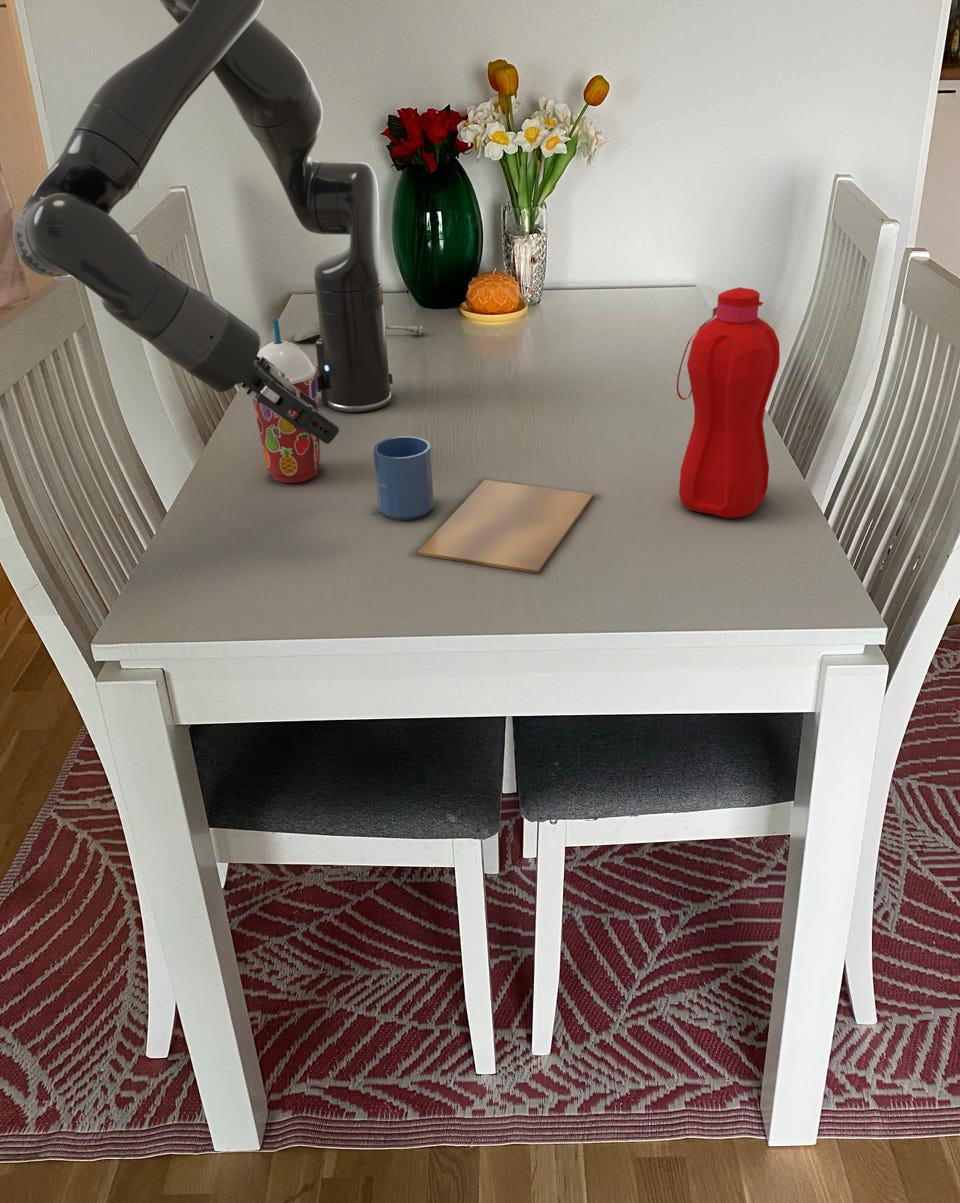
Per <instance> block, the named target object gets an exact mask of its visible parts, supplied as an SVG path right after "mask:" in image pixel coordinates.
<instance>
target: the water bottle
mask: <svg viewBox="0 0 960 1203" xmlns="http://www.w3.org/2000/svg"><path fill="white" fill-rule="evenodd" d="M760 296H761V295H760V292H759V291H758V290H756V289H753V288H746V287H740V286H739V287H735V288H732V289H728V290H724V291H722V292H720V293H719V294H718V295H717V305H716V306H715V307H714V308H712V314H711V318H709V319H708V320H706V321H704V323H703V324H702V325H701V326H699V328H698V330H697V331H696V332H695V333H694V334H693V335H692V336H691V337H690V339H689V340H688V341H687V343H686V346H685V349H684V352H683V354H682V358H681V361H680V365H679V367H678V368H679V369H678V372H677V379H676V393H677V396H678V398H679V399H680V400H682V401H686V400H688V399H689V398H690V397H691V396H692V401H693V405H694V409H693V410H694V411H693V412H694V413H693V426H692V429H691V433H690V436H689V439H688V443H687V446H686V449H685V453H684V456H683V460H682V463H681V467H680V472H679V473H680V474H679V485H678V494H679V498H680V499H679V500H680V502H681V503H682V504H683V506H684V507H686V508H687V509H688V510H689V511H692V512H696V513H697V512H698V513H703V514H707V515H712V516H716V517H722V518H725V519H730V520H731V519H737V518H739V519H740V518H744V517H747V516H749V515H750V514H752V513H753V512H755V511H756V510H757V509H758V507H759V505H761V503H763V502H764V499H765V497H766V494H767V490H768V485H769V473H770V464H769V456H768V451H767V443H766V436H765V430H764V429H765V428H764V419H765V418H764V417H765V411H766V406H767V403H768V400H769V397H770V394H771V392H772V388H773V385H774V383H775V380H776V377H777V373H778V370H779V367H780V357H781V355H780V354H781V353H780V351H781V350H780V341H779V339H778V335H777V334H776V332H775V330H774V328H773V327H772V326H771V325H770V324H769V323H768V322H766V321H765V320H763V319H762V318H760V317H758V315H759V307H761V306H762V305H763V304H764V302H762V301H760ZM690 343H691V346H690V350H689V353H688V357H687V362H686V367H687V373H688V379H689V385H690V392H689V395H688V397H682V395H681V393H680V389H679V382H680V376H681V371H682V366H683V362H684V360H685V356H686V353H687V351H688V347H689V344H690Z"/></svg>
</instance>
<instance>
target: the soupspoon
mask: <svg viewBox="0 0 960 1203" xmlns="http://www.w3.org/2000/svg"><path fill="white" fill-rule="evenodd" d="M385 330H403V331H404V332H406V331H408V332H409V333H415V334H419V336H422V332H423V325H420V327H419V326H412V325H411V326H407V325H404V326H402V325H401V326H400V325H385ZM316 336H321V334H320V324H319V321H314V322H311V323H308V324H306V325H305V326H303V327H302V328H301V329H299V331H298V332H297V333H296V334H295V335H294V338H293V341H294V342H302V341H304V340H308V339H310V338H312V337H313V338H314V337H316Z"/></svg>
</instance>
